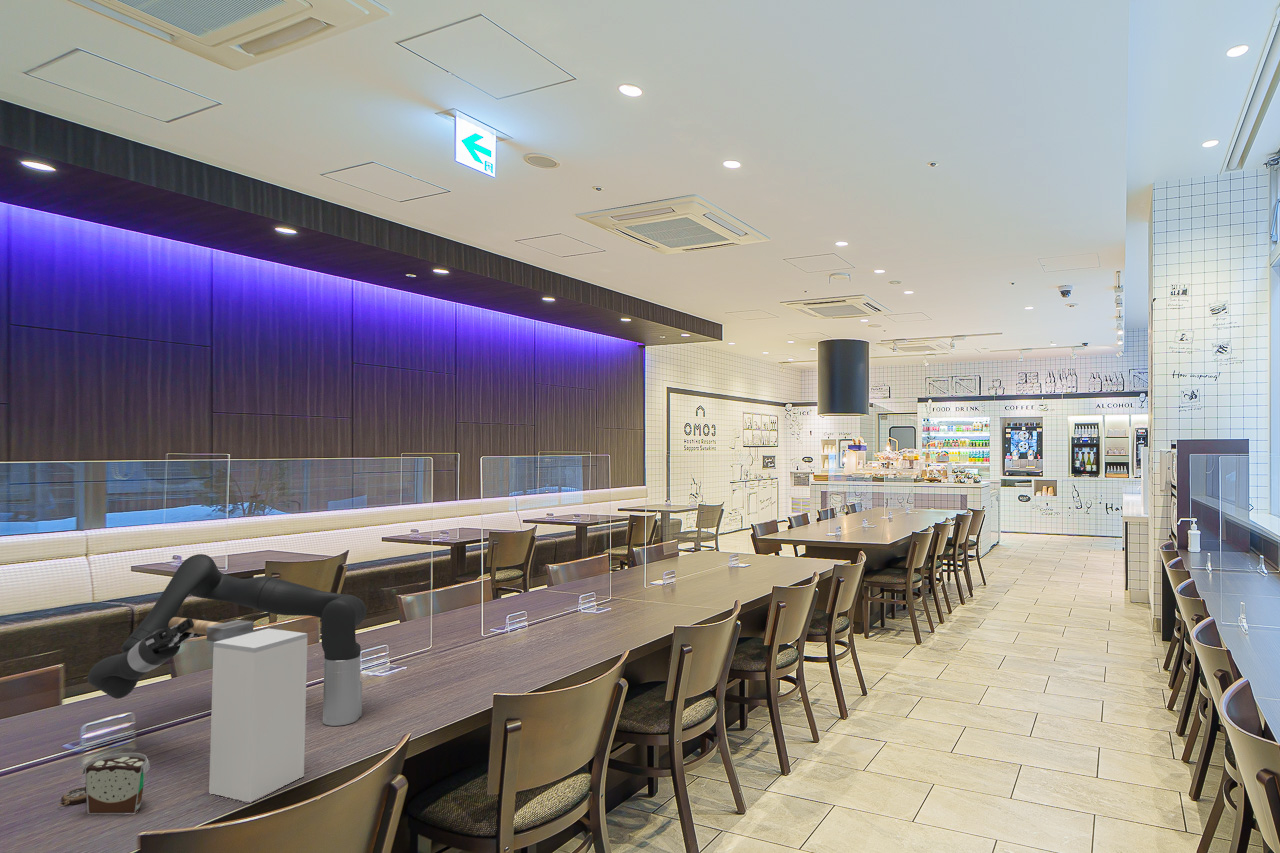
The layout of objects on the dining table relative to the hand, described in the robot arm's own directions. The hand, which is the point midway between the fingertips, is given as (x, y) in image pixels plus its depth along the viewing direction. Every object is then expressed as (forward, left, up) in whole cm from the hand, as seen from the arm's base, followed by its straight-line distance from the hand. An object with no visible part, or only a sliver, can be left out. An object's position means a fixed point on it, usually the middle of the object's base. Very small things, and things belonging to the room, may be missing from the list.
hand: (198, 620), depth 174 cm
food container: (+20, +6, -34) cm, 39 cm away
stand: (+2, +23, -33) cm, 40 cm away
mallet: (0, +3, -3) cm, 4 cm away
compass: (+21, -5, -34) cm, 40 cm away
